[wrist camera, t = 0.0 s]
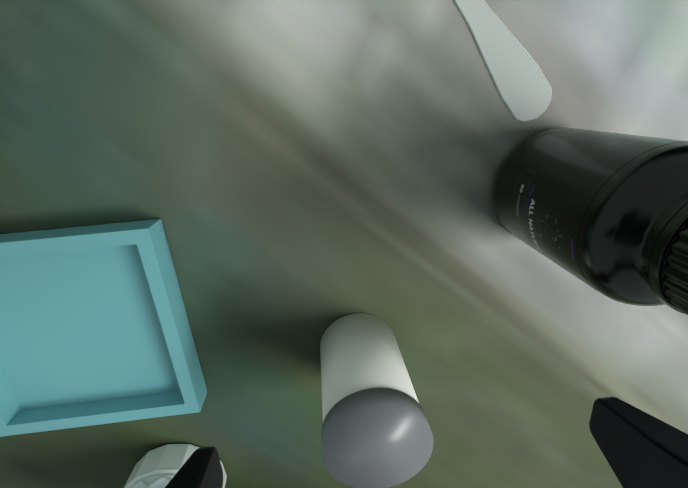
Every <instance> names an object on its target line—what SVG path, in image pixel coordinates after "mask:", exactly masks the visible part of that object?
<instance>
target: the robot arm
mask: <svg viewBox="0 0 688 488" xmlns="http://www.w3.org/2000/svg"><path fill="white" fill-rule="evenodd" d="M589 426H590V431H591V433H592V435H593V437H594V439H595V441H596V442H597V444H598V446H599V447H600V449H601V451H602V452H603V454H604V456H605V458H606V459H607V461H608V463H609V464H610V466H611V468H612V469H613V471H614V473H615V475H616V476H617V478H618V480H619V481H620V483H621V485H622V486H623V488H688V434H686V433H684V432H682V431H680V430H678V429H676V428H674V427H672V426H671V425H669V424H667V423H665V422H663V421H661V420H659V419H657V418H655V417H653V416H651V415H649V414H647V413H645V412H643V411H641V410H639V409H637V408H636V407H634V406H632V405H630V404H628V403H626V402H624V401H622V400H620V399H618V398H615V397H605V398H598V399H596V400H595V401H594V405H593V409H592V413H591V418H590V423H589ZM222 487H223V470H222V467H221V463H220V459H219V455H218V452H217V449H216V448H215V447H213V446H211V447H203V448H198V449H196V450H195V451H194V452H193V453H192V455H191V456H190V457H189V458H188V460H187V461H186V462H185V463H184V464H183V466H182V467H181V468H180V469H179V471H178V472H177V473H176V474H175V475H174V477H173V478H172V479H171V480H170V482H169V483H168V484H167V485H166V487H165V488H222Z"/></svg>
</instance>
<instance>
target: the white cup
mask: <svg viewBox="0 0 688 488" xmlns="http://www.w3.org/2000/svg"><path fill="white" fill-rule="evenodd" d="M198 448H201V447H197V446H194V445H191V444H166V445H164V446H161V447H158V448H155V449H153V450H150V451H148V452H147V453H146V454H145V455H144V456H143V457H142V458H141V460H140V461H139V462H138V463H137V464H136V465H135V467H134V469H133V471H132V473H131V475H130V477H129V478H128V480H127V482H126V484H125V486H124V488H165V487H166V485H167V484H168V483H169V482H170V480H171V479H172V478H173V477H174V475H175V474H176V473H177V472H178V471H179V469H180V468H181V467H182V466H183V464H184V463H185V462H186V461H187V460H188V458H189V457H190V456H191V455H192V453H193V452H194V451H195V450H196V449H198ZM220 463H221V467H222V470H223V487H222V488H225V484H226V479H227V475H226V472H225V469H224V466H223V464H222V461H221V460H220Z"/></svg>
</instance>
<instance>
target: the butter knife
mask: <svg viewBox="0 0 688 488" xmlns="http://www.w3.org/2000/svg"><path fill="white" fill-rule="evenodd" d="M453 1H454V3H455V5H456V6H457V8H458V10H459V11H460V13H461V15H462V16H463V18H464V20H465V21H466V23H467V25H468V27H469V29H470V31H471V33H472V36H473V38H474V40H475V42H476V44H477V47H478V49H479V51H480V54H481V56H482V58H483V61H484V63H485V65H486V67H487V69H488V72H489V74H490V76H491V78H492V80H493V82H494V84H495V87H496V89H497V91H498V93H499V95H500V98H501V99H502V101H503V102H504V104H505V105H506V107H507V108H508V110H509V111H510V113H511V114H512V116H513V117H514V119H515V120H518V121H520V122H527V121H531V120H535V119H537V118H538V117H539V116H540V115H541V114H543V113H544V112H545V111H546V109H547V107H548V105H549V103H550V101H551V98H552V88H551V86H550V84H549V83H548V81H547V79H546V78H545V76H544V74H543V73H542V71H541V69H540V67H539V66H538V64H537V63H536V62H535V60H534V59H533V58H532V57H531V56H530V54H529V53H528V52H527V51H526V49H525V48H524V47H523V46H522V45H521V44H520V42H519V41H518V40H517V39H516V38H515V36H514V35H513V34H512V33H511V32H510V31H509V29H508V28H507V27H506V26H505V25H504V24H503V22H502V21H501V20H500V19H499V18H498V17H497V16H496V14H495V13H494V12H493V11H492V10H491V9H490V8H489V6H488V5H487V3H486V2H485V0H453Z"/></svg>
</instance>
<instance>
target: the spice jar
mask: <svg viewBox="0 0 688 488" xmlns="http://www.w3.org/2000/svg"><path fill="white" fill-rule="evenodd" d="M320 357H321V383H322V408H323V425H322V431H321V434H322V458H323V463H324V465H325V468H326V469H327V471H328V472H329V473H330V475H331V476H332V477H333V478H335V479H336V480H337V481H339V482H340V483H342V484H344V485H347V486H349V487H352V488H389V487H393V486H396V485H398V484H401V483H403V482H405V481H407V480H409V479H410V478H412V477H413V476H415V475H416V474H417V473H418V472H419V471H420V470H421V469H422V468H423V467H424V466H425V465H426V463H427V462H428V460H429V458H430V456H431V454H432V450H433V435H432V432H431V429H430V426H429V424H428V421H427V418H426V416H425V413H424V411H423V409H422V407H421V405H420V404H419V402H418V399H417V397H416V394H415V391H414V388H413V386H412V383H411V380H410V377H409V375H408V372H407V369H406V366H405V364H404V361H403V358H402V355H401V353H400V350H399V347H398V344H397V342H396V339H395V336H394V333H393V331H392V329H391V328H390V326H389V325H388V324H387V323H386V322H385V321H384V320H382V319H381V318H379V317H377V316H374V315H371V314H365V313H355V314H350V315H346V316H344V317H341V318H339V319H338V320H336V321H335V322H333V323H332V324H331V325H330V326H329V327H328V328H327V329H326V331H325V332H324V334H323V336H322V339H321V343H320Z"/></svg>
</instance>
